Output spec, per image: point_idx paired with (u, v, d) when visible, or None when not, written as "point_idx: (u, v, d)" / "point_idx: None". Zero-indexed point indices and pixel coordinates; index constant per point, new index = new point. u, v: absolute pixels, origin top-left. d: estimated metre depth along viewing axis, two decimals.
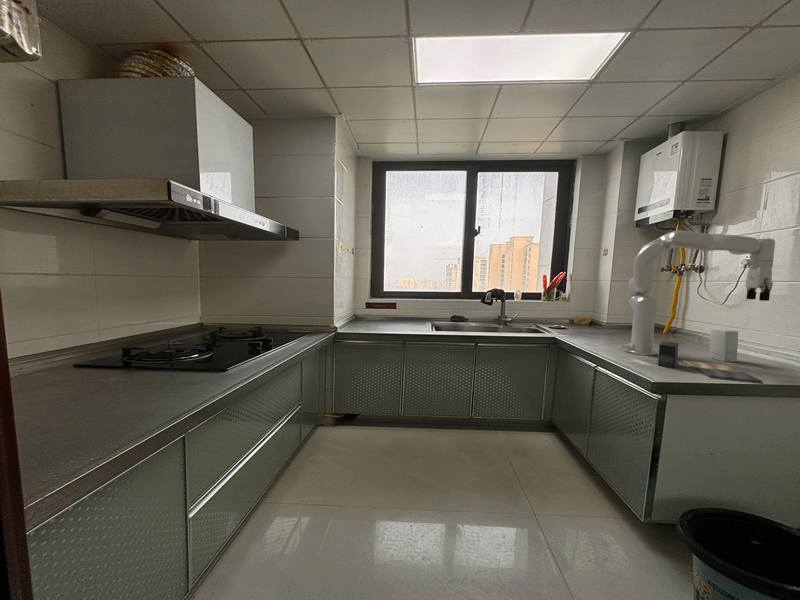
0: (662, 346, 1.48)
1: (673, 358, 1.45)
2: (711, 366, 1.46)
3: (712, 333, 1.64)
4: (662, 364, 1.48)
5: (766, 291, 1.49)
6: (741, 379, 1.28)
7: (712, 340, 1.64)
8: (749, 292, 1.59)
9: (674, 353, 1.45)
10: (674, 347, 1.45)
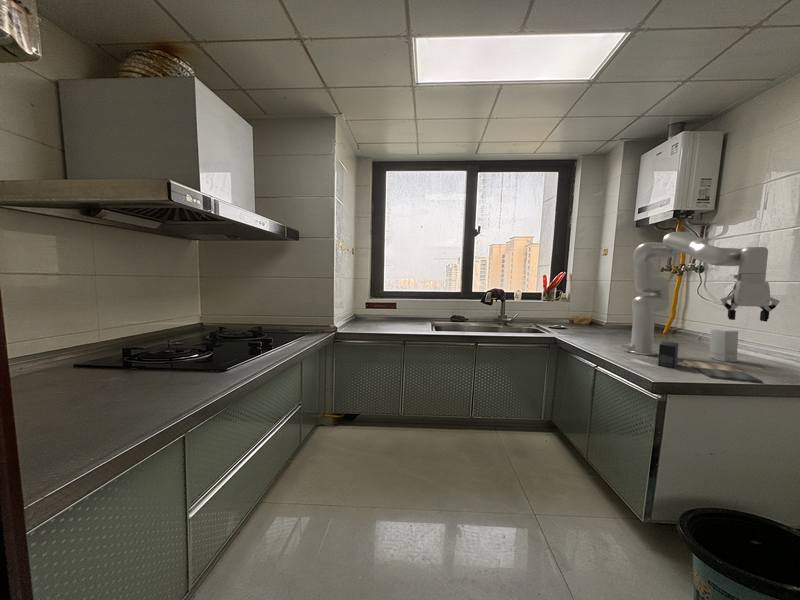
0: (662, 346, 1.48)
1: (673, 358, 1.45)
2: (711, 366, 1.46)
3: (712, 333, 1.64)
4: (662, 364, 1.48)
5: None
6: (741, 379, 1.28)
7: (712, 340, 1.64)
8: None
9: (674, 353, 1.45)
10: (674, 347, 1.45)
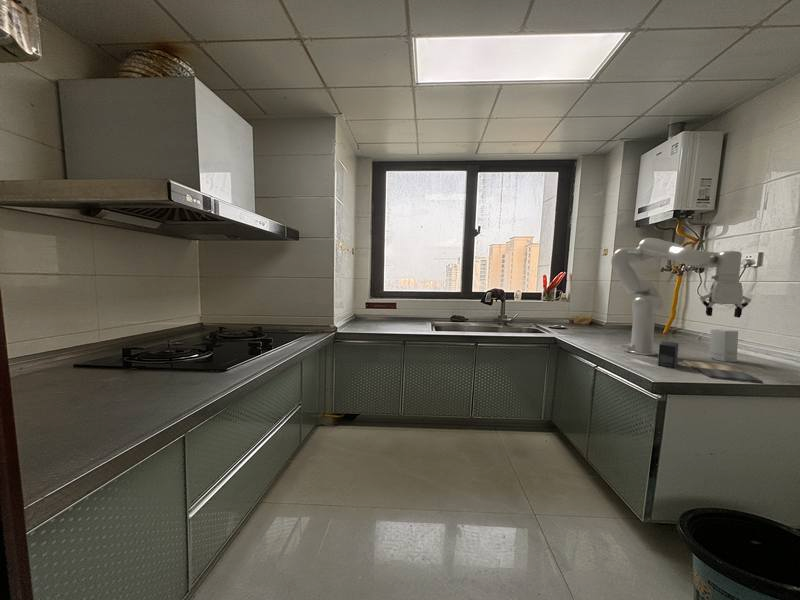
0: (662, 346, 1.48)
1: (673, 358, 1.45)
2: (711, 366, 1.46)
3: (712, 333, 1.64)
4: (662, 364, 1.48)
5: None
6: (741, 379, 1.28)
7: (712, 340, 1.64)
8: None
9: (674, 353, 1.45)
10: (674, 347, 1.45)
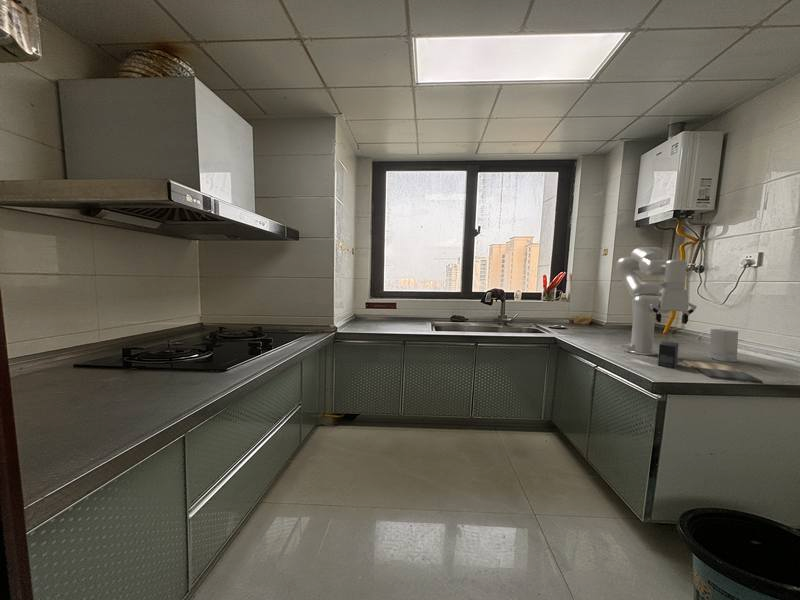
0: (662, 346, 1.48)
1: (673, 358, 1.45)
2: (711, 366, 1.46)
3: (712, 333, 1.64)
4: (662, 364, 1.48)
5: None
6: (741, 379, 1.28)
7: (712, 340, 1.64)
8: None
9: (674, 353, 1.45)
10: (674, 347, 1.45)
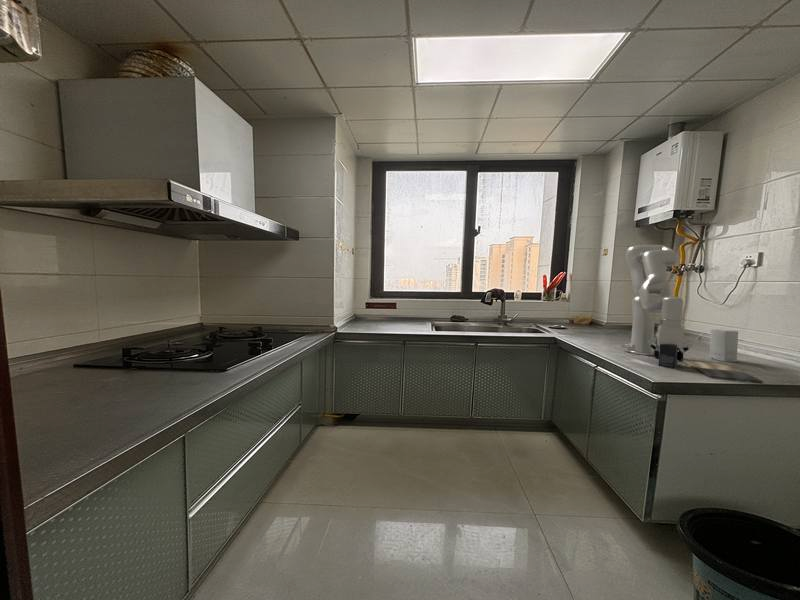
0: (663, 346, 1.48)
1: (674, 358, 1.45)
2: (711, 366, 1.46)
3: (712, 333, 1.64)
4: (663, 364, 1.48)
5: None
6: (741, 379, 1.28)
7: (712, 340, 1.64)
8: None
9: (675, 353, 1.45)
10: (675, 347, 1.45)
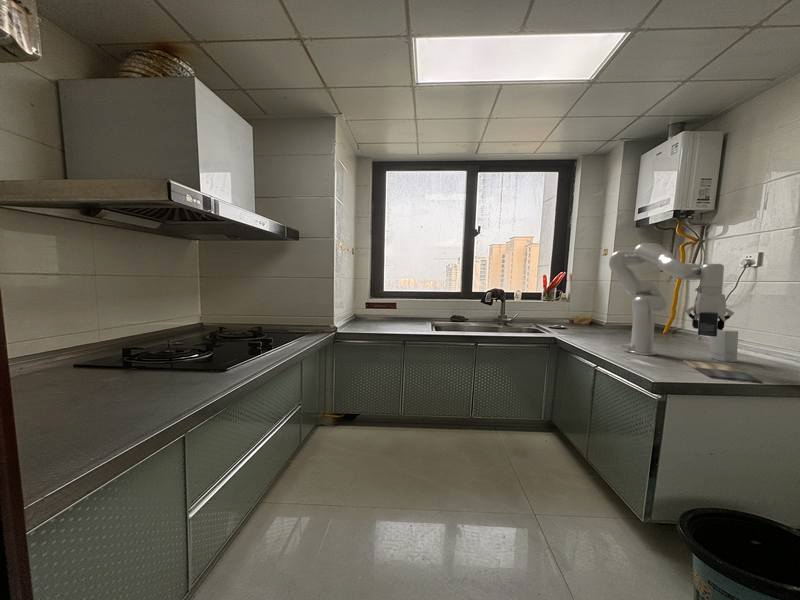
0: (702, 314, 1.43)
1: (715, 326, 1.41)
2: (711, 366, 1.46)
3: None
4: (702, 333, 1.43)
5: None
6: (741, 379, 1.28)
7: (712, 340, 1.64)
8: None
9: (716, 321, 1.40)
10: (716, 315, 1.40)
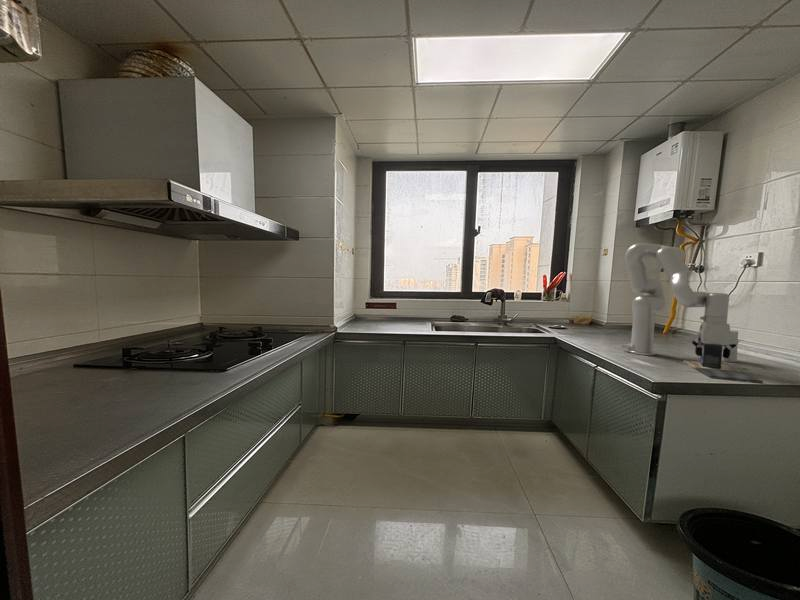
0: (707, 346, 1.44)
1: (719, 358, 1.41)
2: None
3: None
4: (707, 365, 1.44)
5: None
6: (741, 379, 1.28)
7: None
8: None
9: (720, 353, 1.41)
10: (720, 347, 1.41)
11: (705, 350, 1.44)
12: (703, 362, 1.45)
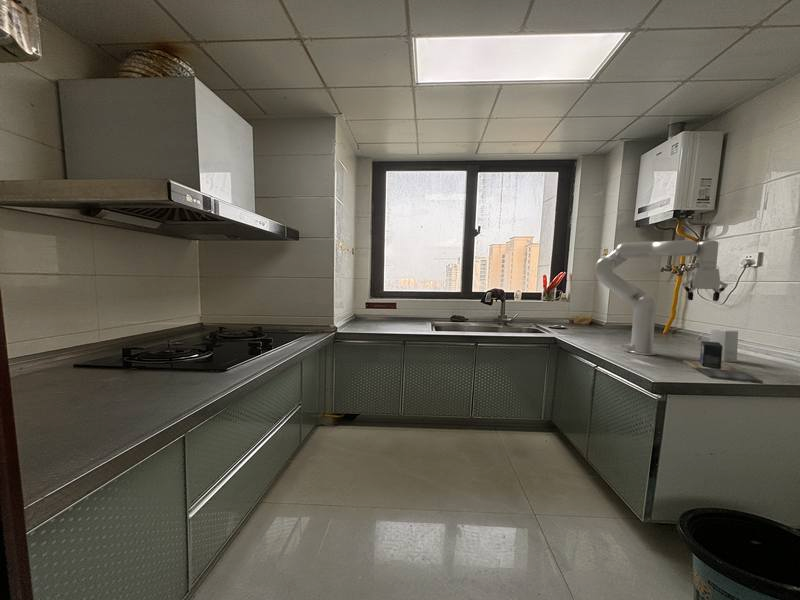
0: (707, 346, 1.44)
1: (719, 358, 1.41)
2: None
3: (712, 333, 1.64)
4: (707, 365, 1.44)
5: None
6: (741, 379, 1.28)
7: (712, 340, 1.64)
8: None
9: (720, 353, 1.41)
10: (720, 347, 1.41)
11: (705, 350, 1.44)
12: (703, 362, 1.45)
